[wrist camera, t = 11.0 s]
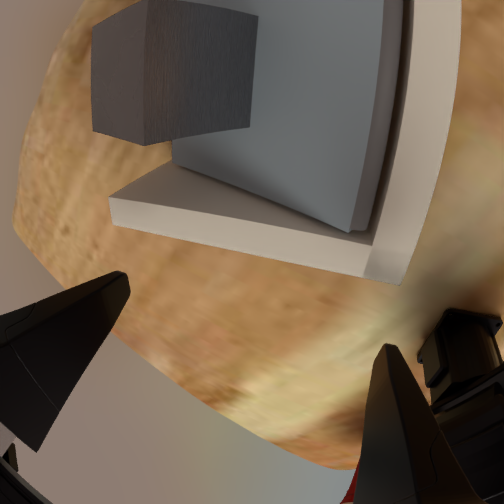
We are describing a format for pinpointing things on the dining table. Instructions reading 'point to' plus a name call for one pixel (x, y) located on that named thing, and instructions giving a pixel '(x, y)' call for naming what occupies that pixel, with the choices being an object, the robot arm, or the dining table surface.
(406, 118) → the white step stool
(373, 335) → the dining table surface
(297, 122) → the trapdoor
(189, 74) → the block
